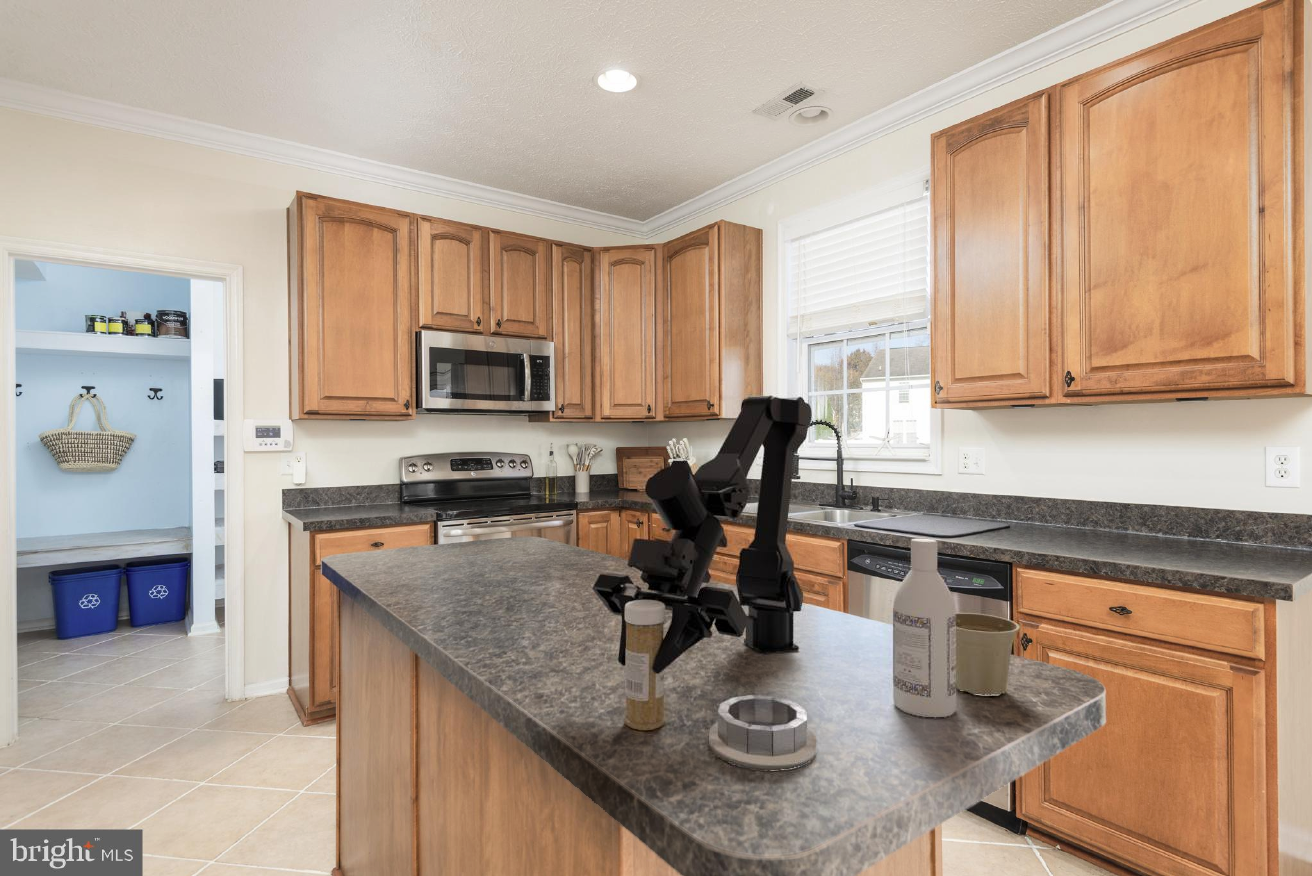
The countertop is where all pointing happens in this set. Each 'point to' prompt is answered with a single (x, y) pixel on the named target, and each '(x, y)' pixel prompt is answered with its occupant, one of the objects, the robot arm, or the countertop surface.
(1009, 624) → the flower pot
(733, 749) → the socket
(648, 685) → the sprinkles bottle
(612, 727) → the countertop surface
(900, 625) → the bath foam
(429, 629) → the countertop surface
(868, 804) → the countertop surface
